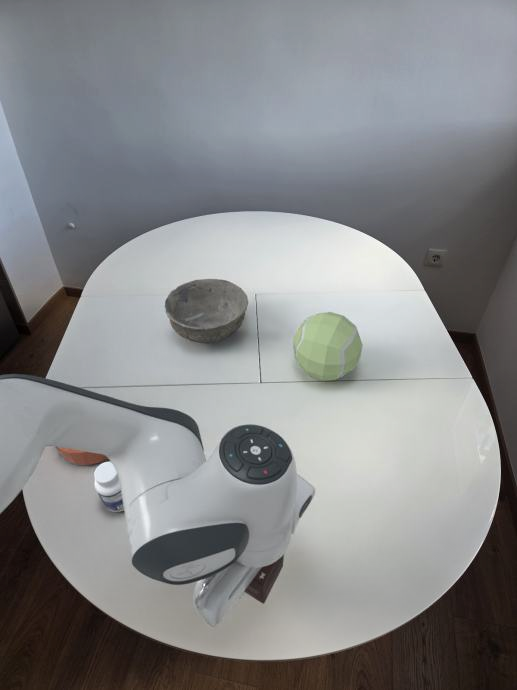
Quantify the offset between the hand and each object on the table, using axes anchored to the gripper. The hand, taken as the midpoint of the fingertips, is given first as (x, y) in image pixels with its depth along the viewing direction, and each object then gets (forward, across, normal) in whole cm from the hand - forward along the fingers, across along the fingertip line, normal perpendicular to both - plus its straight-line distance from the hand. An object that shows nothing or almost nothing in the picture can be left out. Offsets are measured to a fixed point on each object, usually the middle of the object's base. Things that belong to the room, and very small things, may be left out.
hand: (256, 567), depth 61 cm
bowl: (+10, +40, +49) cm, 64 cm away
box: (+3, 0, 0) cm, 3 cm away
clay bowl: (+10, +2, +45) cm, 46 cm away
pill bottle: (+10, -4, +30) cm, 32 cm away
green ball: (+10, +48, +18) cm, 52 cm away
